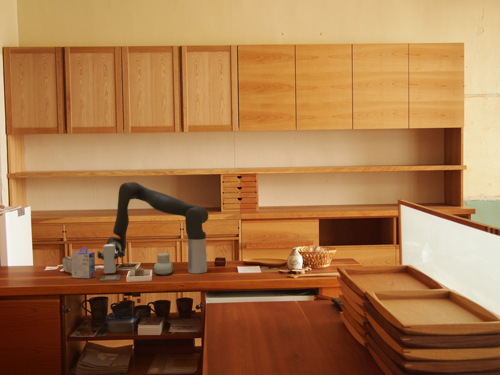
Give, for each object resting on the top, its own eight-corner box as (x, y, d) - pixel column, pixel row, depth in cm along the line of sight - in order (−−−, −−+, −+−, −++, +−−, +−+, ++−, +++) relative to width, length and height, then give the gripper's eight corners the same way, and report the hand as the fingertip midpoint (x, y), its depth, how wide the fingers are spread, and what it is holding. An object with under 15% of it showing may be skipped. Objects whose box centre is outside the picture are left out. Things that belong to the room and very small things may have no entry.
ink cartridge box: (95, 276, 228) (95, 247, 228) (89, 278, 223) (88, 249, 222) (78, 275, 230) (77, 246, 230) (71, 278, 225) (70, 248, 224)
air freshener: (170, 276, 226) (169, 256, 226) (153, 276, 226) (153, 256, 226) (173, 270, 237) (173, 251, 237) (157, 271, 237) (157, 252, 236)
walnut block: (143, 278, 223) (143, 268, 223) (143, 280, 219) (143, 270, 219) (135, 278, 222) (135, 268, 222) (134, 280, 218) (134, 270, 218)
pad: (121, 275, 228) (120, 274, 228) (119, 280, 219) (119, 279, 219) (102, 276, 226) (102, 275, 226) (99, 281, 217) (99, 280, 217)
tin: (80, 274, 231) (80, 258, 231) (74, 276, 229) (74, 259, 228) (67, 270, 241) (66, 254, 241) (61, 271, 239) (60, 255, 239)
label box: (115, 270, 226) (115, 243, 225) (114, 272, 221) (114, 245, 220) (105, 270, 225) (104, 244, 224) (103, 273, 220) (103, 246, 219)
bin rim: (152, 273, 231) (152, 269, 231) (151, 280, 218) (151, 275, 218) (128, 275, 229) (128, 270, 229) (126, 281, 216) (126, 277, 216)
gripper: (98, 243, 235) (93, 250, 218) (127, 242, 237) (124, 249, 221) (98, 258, 235) (93, 266, 218) (127, 257, 238) (124, 264, 221)
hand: (109, 257), depth 220 cm, fingers closed on label box, 5 cm apart
